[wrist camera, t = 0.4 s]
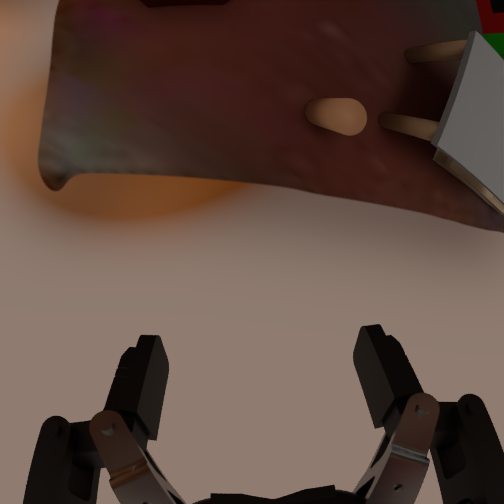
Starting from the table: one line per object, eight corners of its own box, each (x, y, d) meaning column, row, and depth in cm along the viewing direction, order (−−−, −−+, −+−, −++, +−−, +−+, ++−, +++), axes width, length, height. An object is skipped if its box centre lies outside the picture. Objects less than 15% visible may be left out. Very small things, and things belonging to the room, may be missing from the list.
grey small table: (408, 42, 25) (476, 30, 14) (485, 108, 28) (550, 125, 17) (374, 127, 31) (437, 145, 19) (456, 181, 34) (517, 217, 23)
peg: (311, 94, 29) (339, 91, 20) (336, 105, 30) (372, 109, 21) (300, 118, 30) (324, 125, 22) (325, 129, 31) (358, 141, 22)
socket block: (460, 88, 27) (479, 89, 24) (519, 151, 31) (535, 157, 27) (432, 159, 32) (449, 167, 29) (495, 210, 36) (510, 219, 33)
